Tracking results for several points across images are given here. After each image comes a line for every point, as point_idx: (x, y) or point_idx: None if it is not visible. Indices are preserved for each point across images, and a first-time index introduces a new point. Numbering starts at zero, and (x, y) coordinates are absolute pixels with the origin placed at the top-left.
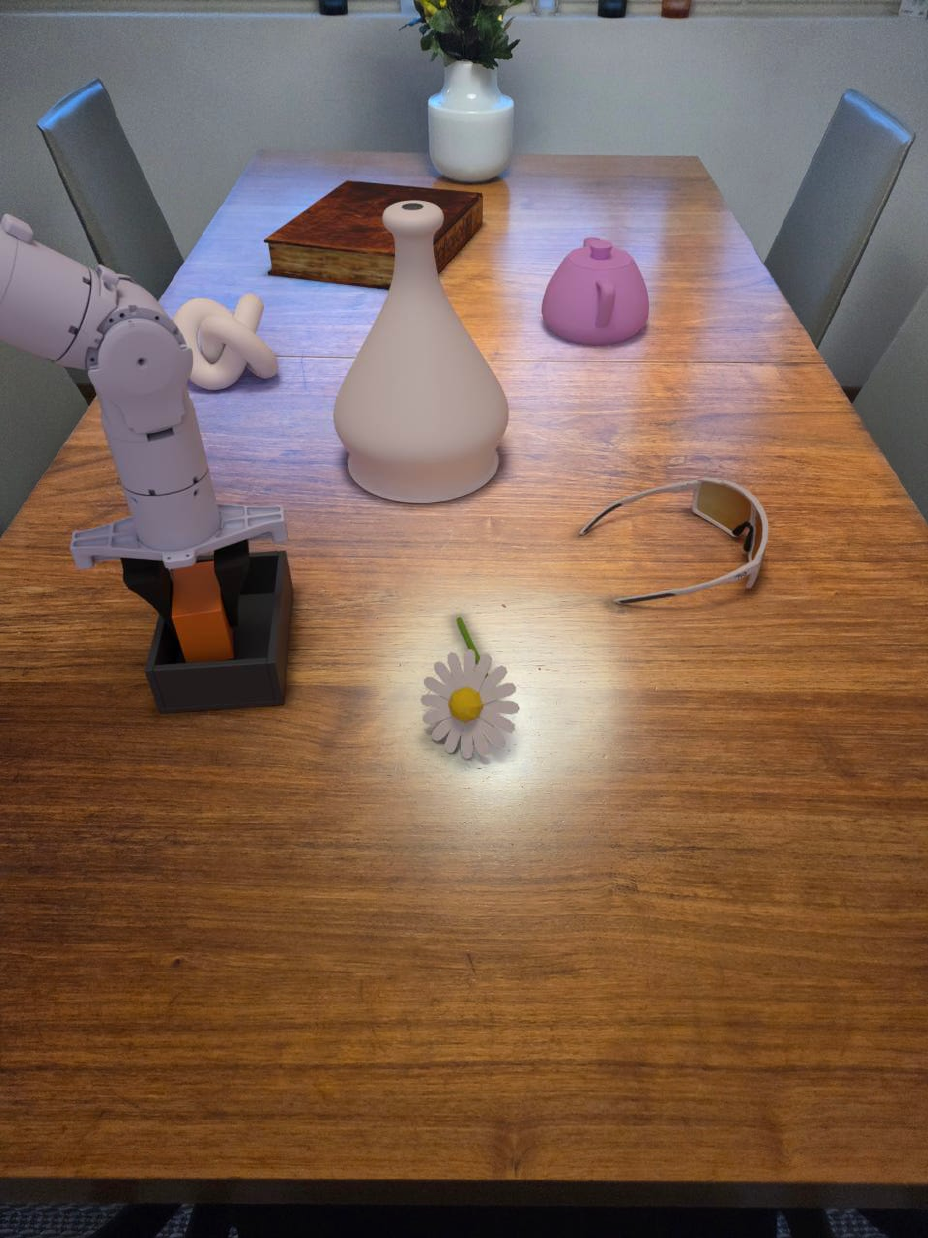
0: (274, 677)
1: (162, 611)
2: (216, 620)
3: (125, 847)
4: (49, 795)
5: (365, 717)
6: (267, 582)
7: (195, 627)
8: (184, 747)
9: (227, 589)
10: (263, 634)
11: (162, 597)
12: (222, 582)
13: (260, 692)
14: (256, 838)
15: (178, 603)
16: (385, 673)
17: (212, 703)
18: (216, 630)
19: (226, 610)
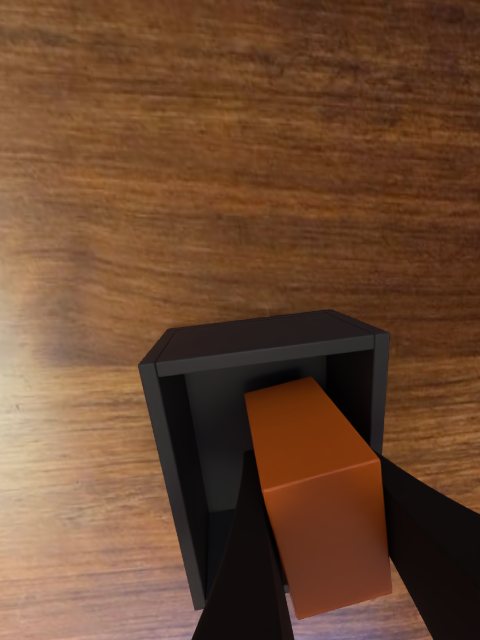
0: (156, 348)
1: (396, 473)
2: (272, 459)
3: (337, 53)
4: (451, 163)
5: (39, 309)
6: (229, 529)
7: (314, 438)
8: (288, 250)
9: (253, 565)
10: (221, 444)
11: (429, 523)
12: (265, 611)
13: (191, 333)
14: (142, 60)
15: (369, 500)
16: (35, 390)
17: (263, 320)
18: (271, 435)
19: (259, 486)
